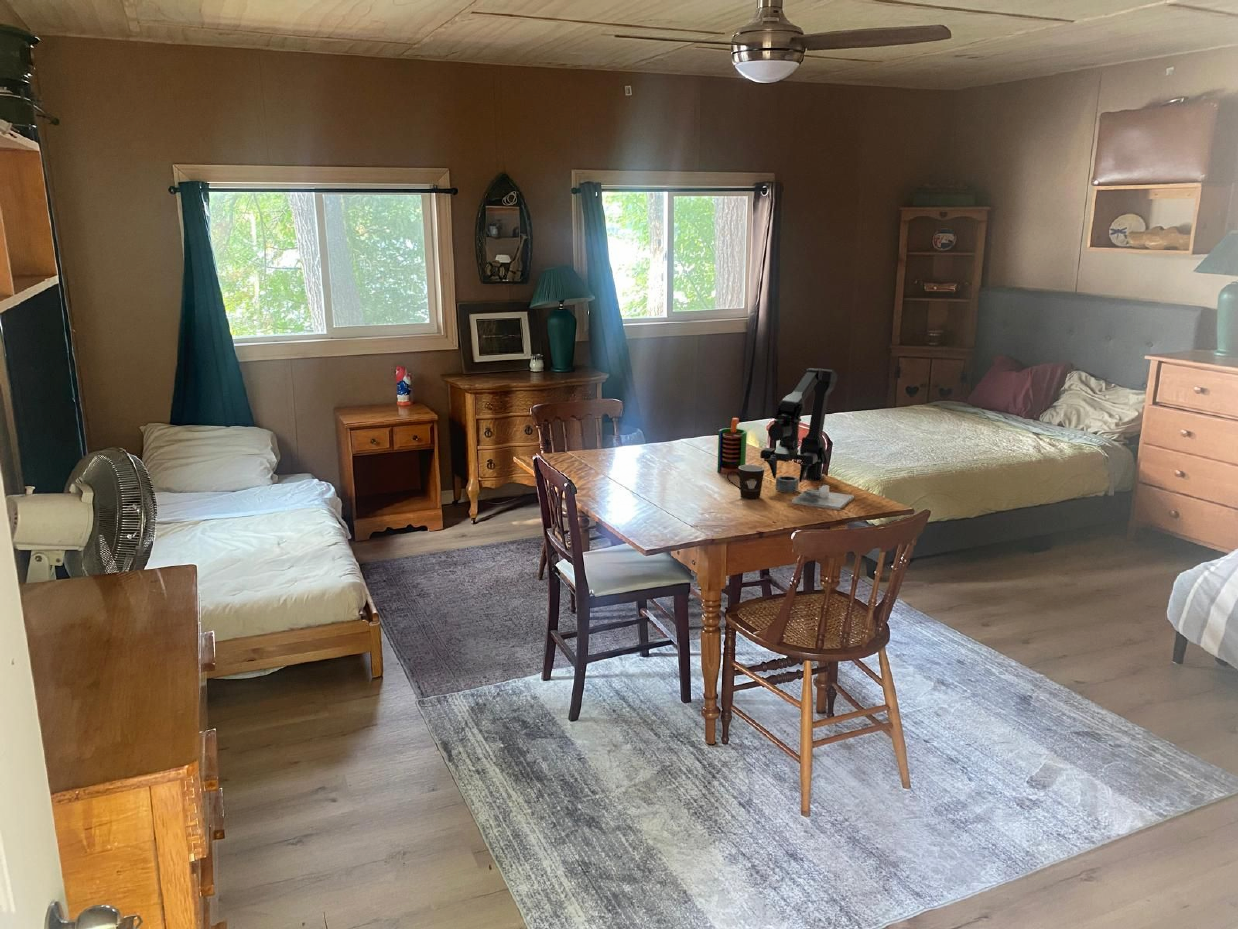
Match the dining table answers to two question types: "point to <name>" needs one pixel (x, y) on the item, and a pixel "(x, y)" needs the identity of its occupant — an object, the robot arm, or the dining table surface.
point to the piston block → (823, 498)
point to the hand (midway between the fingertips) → (787, 480)
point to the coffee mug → (749, 481)
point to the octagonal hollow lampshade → (787, 484)
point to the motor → (731, 448)
